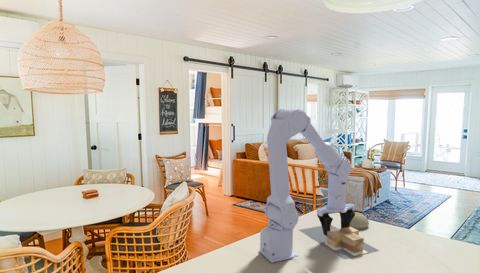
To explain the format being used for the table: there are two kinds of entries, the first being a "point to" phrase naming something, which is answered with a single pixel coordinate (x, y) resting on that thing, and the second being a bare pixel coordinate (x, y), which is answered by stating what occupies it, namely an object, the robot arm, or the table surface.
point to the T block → (346, 239)
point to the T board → (319, 236)
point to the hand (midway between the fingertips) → (335, 233)
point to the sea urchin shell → (359, 221)
